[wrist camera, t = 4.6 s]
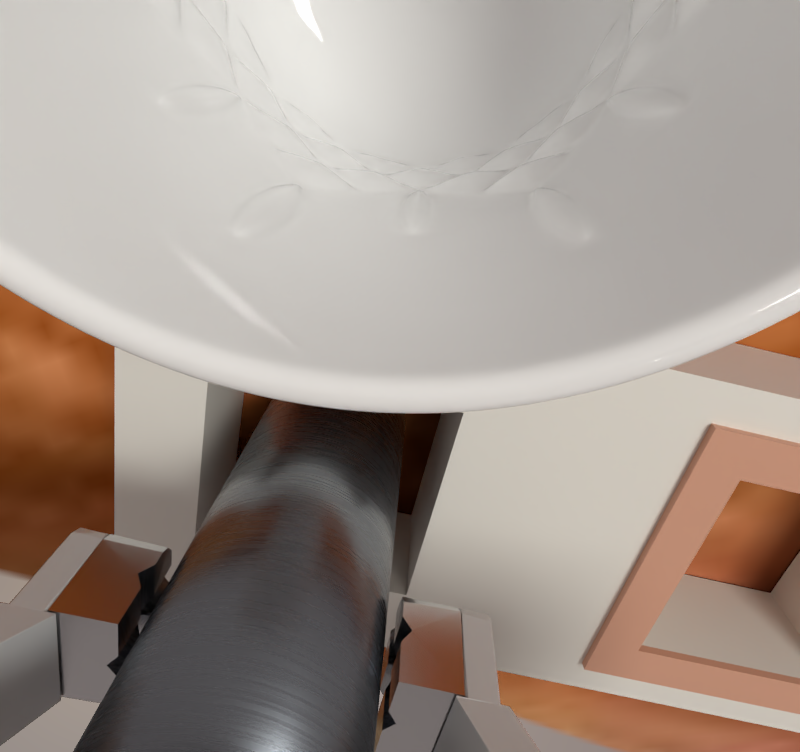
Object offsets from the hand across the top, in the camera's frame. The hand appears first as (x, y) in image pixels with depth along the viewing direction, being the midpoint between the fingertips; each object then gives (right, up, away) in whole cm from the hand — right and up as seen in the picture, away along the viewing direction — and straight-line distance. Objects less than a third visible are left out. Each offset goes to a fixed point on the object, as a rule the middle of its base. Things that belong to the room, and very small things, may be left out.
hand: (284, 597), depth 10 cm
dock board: (+6, +1, +6) cm, 9 cm away
